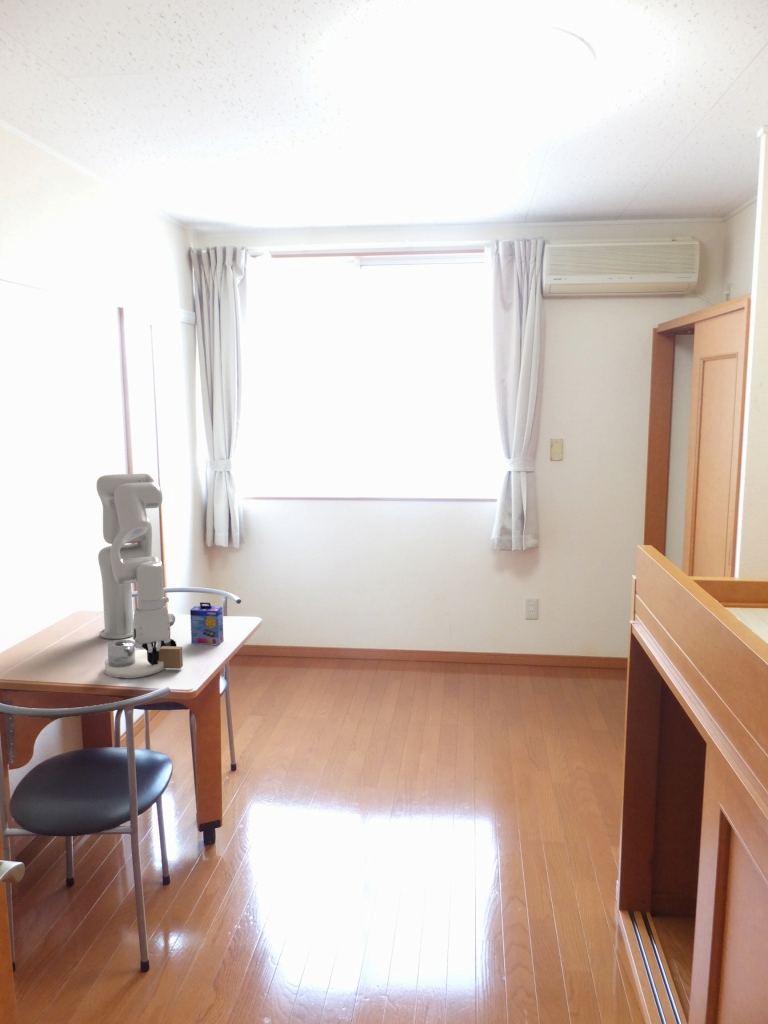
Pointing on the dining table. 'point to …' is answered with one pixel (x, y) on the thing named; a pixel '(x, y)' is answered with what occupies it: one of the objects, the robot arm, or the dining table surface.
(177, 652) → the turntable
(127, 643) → the silver metal cylinder
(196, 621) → the ink cartridge box
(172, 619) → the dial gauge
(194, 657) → the dining table surface
